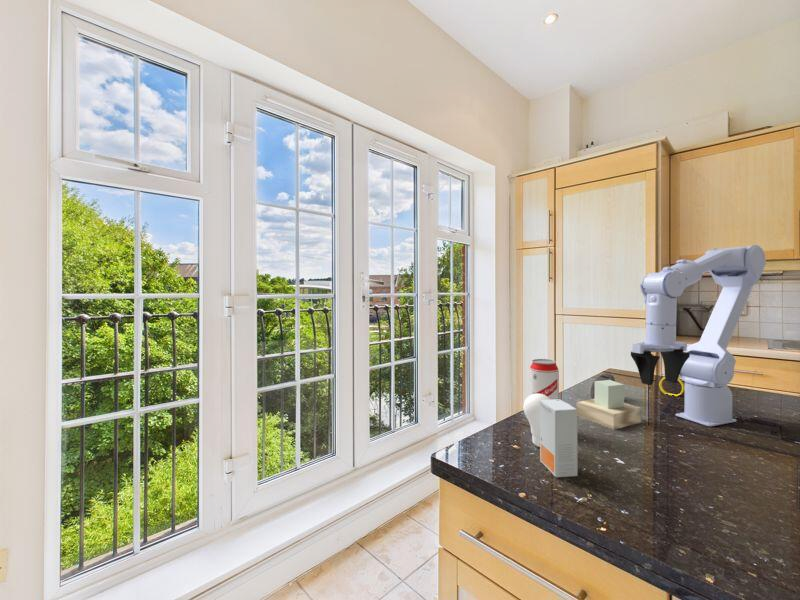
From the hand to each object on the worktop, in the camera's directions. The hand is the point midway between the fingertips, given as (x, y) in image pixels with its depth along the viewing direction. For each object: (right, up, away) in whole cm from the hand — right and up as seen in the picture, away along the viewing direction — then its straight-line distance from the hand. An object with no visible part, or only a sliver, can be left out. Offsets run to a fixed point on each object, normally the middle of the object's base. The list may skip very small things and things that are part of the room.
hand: (659, 383), depth 85 cm
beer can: (-26, -11, 0) cm, 29 cm away
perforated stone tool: (-2, -10, +20) cm, 22 cm away
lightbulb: (-31, -12, -9) cm, 34 cm away
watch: (+21, -9, +25) cm, 34 cm away
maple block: (-8, -11, +6) cm, 15 cm away
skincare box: (-31, -12, -18) cm, 38 cm away
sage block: (-8, -7, +6) cm, 12 cm away
